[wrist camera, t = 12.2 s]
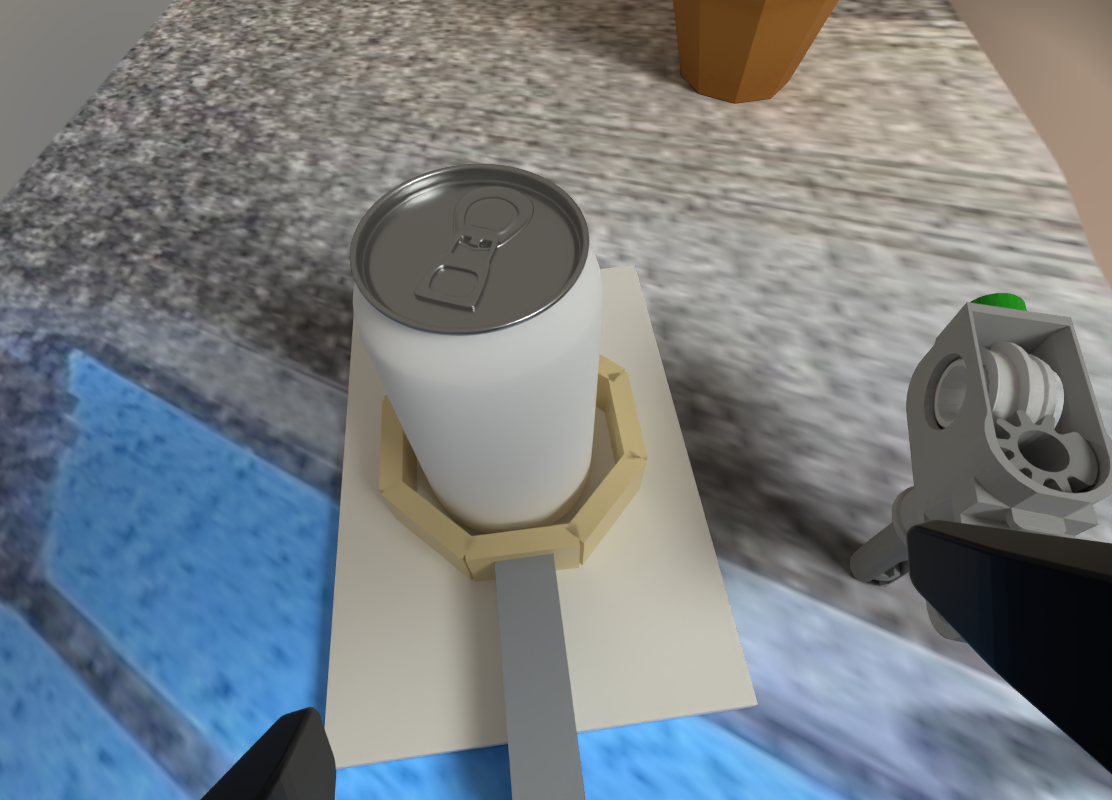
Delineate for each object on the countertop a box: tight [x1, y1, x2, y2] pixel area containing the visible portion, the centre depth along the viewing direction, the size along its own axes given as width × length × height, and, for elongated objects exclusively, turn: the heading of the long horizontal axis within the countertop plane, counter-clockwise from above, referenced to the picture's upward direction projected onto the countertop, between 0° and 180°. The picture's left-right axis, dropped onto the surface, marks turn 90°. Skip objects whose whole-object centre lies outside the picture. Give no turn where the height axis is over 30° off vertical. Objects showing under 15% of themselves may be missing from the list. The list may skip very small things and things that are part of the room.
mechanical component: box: [850, 293, 1112, 643], centre depth 18 cm, size 3×10×10 cm, turn 167°
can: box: [350, 164, 603, 534], centre depth 19 cm, size 6×6×12 cm
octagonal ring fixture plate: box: [325, 265, 758, 800], centre depth 23 cm, size 25×14×4 cm, turn 7°
